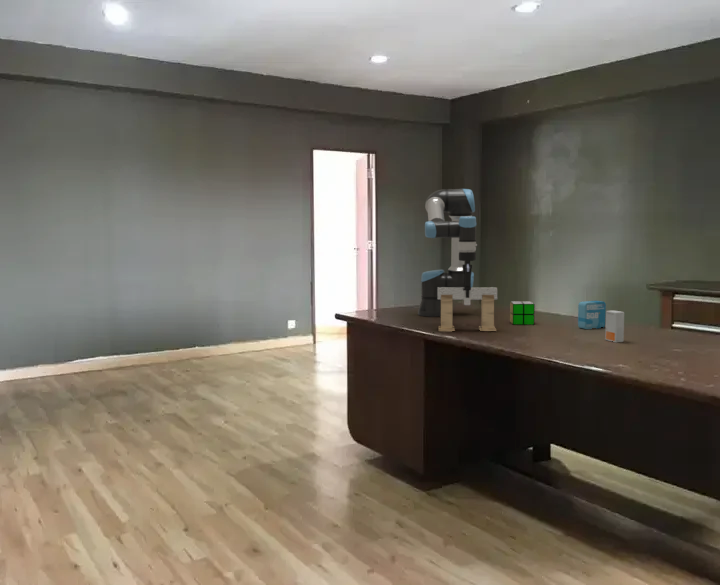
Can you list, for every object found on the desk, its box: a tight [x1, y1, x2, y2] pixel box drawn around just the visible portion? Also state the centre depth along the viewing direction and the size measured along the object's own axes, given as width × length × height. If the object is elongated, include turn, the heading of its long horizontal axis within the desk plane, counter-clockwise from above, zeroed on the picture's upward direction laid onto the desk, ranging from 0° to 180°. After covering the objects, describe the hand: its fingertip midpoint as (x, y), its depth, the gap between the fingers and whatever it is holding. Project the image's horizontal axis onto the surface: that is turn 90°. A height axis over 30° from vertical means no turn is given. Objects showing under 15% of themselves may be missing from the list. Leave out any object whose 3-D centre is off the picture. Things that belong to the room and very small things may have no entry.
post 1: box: [437, 295, 456, 332], centre depth 299 cm, size 8×7×16 cm
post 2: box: [478, 295, 497, 332], centre depth 298 cm, size 8×7×16 cm
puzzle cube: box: [509, 300, 536, 326], centre depth 318 cm, size 10×10×10 cm
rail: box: [438, 286, 498, 301], centre depth 298 cm, size 4×26×5 cm, turn 84°
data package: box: [577, 300, 607, 330], centre depth 302 cm, size 12×4×12 cm, turn 114°
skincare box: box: [604, 309, 625, 343], centre depth 268 cm, size 6×4×12 cm
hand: (467, 304), depth 298 cm, fingers open, 4 cm apart
